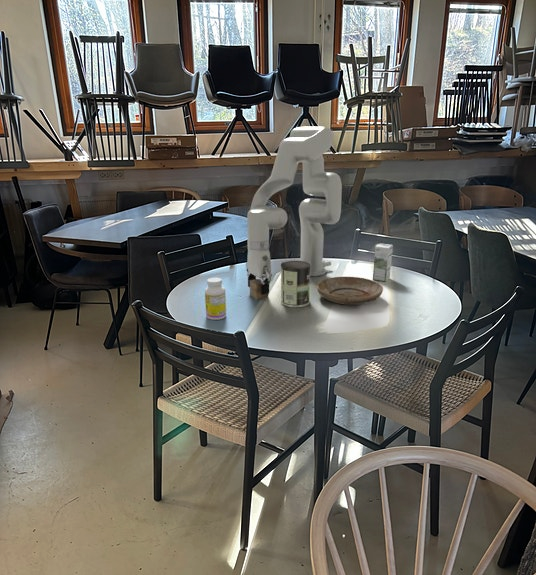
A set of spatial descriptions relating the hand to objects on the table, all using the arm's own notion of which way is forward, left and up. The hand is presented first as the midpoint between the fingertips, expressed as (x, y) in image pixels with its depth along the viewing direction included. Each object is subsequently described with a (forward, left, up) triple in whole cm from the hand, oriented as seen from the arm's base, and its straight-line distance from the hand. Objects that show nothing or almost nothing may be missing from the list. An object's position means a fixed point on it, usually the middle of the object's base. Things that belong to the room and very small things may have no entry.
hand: (258, 290), depth 160 cm
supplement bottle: (+21, +9, -3) cm, 23 cm away
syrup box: (-53, +9, -3) cm, 54 cm away
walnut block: (0, 0, -3) cm, 3 cm away
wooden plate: (-27, +19, -3) cm, 33 cm away
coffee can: (-8, +12, -3) cm, 15 cm away
